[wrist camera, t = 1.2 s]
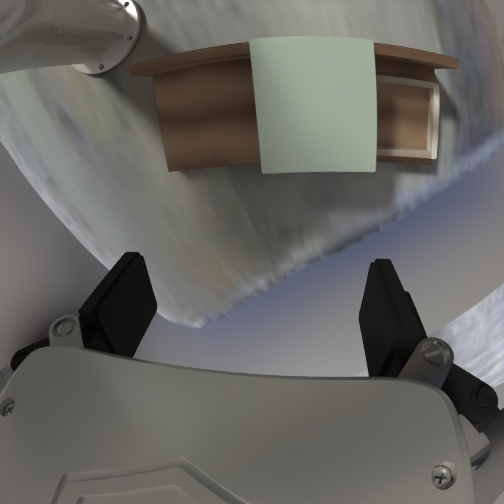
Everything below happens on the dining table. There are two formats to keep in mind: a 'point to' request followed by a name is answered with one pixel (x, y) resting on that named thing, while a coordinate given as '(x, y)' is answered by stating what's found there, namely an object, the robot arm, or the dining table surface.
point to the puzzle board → (244, 109)
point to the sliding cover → (315, 103)
